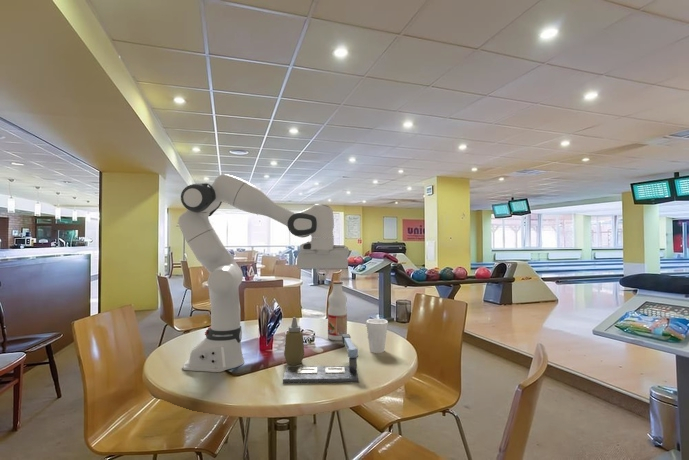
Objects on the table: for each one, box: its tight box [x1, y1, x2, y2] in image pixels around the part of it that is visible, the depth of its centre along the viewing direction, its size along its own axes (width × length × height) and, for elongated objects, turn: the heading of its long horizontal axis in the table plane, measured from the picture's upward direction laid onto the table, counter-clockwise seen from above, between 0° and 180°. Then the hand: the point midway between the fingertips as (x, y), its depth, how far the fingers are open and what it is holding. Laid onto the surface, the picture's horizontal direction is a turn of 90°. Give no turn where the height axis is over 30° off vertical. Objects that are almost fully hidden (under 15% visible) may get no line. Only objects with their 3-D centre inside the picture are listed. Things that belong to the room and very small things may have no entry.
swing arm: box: [341, 333, 359, 358], centre depth 141 cm, size 21×4×3 cm, turn 8°
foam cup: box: [365, 318, 389, 354], centre depth 160 cm, size 10×9×13 cm
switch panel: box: [282, 357, 360, 384], centre depth 131 cm, size 26×12×6 cm, turn 93°
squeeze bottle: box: [283, 316, 305, 366], centre depth 144 cm, size 8×8×18 cm
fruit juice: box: [327, 280, 348, 341], centre depth 179 cm, size 9×9×28 cm
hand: (322, 280), depth 143 cm, fingers closed
